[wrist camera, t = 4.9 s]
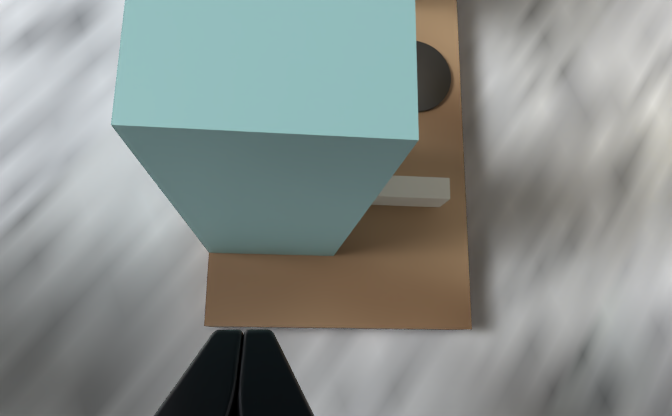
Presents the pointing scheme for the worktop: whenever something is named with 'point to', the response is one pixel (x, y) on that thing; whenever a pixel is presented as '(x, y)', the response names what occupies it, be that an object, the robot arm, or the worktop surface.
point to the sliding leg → (273, 116)
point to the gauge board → (376, 232)
